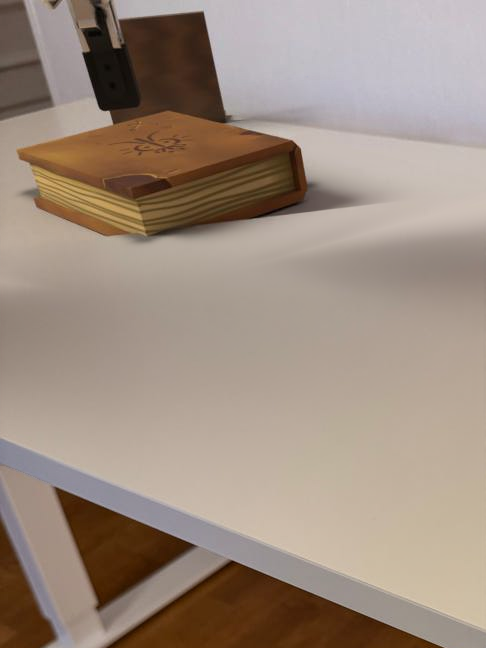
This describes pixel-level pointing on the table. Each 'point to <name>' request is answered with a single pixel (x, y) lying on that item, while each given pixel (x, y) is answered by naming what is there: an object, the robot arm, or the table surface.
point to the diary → (165, 174)
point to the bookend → (172, 67)
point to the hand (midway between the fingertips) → (121, 106)
